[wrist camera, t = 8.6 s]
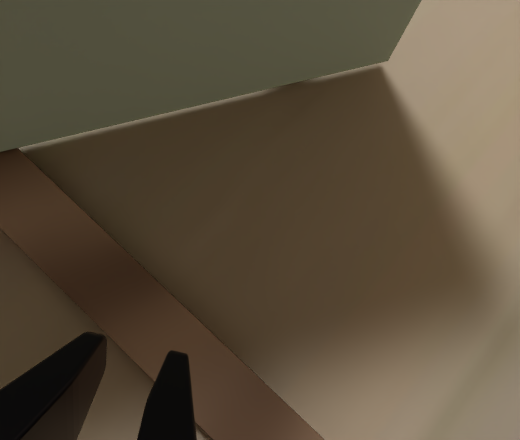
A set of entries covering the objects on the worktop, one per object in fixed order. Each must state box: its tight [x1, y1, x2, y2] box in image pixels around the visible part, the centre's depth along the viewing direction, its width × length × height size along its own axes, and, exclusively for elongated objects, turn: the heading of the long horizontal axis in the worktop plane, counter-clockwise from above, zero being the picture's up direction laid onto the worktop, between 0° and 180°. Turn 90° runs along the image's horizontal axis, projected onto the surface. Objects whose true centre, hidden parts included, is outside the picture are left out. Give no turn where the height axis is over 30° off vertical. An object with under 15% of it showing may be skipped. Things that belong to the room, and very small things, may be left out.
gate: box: [0, 0, 421, 152], centre depth 13 cm, size 17×2×9 cm, turn 106°
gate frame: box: [0, 148, 324, 440], centre depth 12 cm, size 22×15×11 cm
